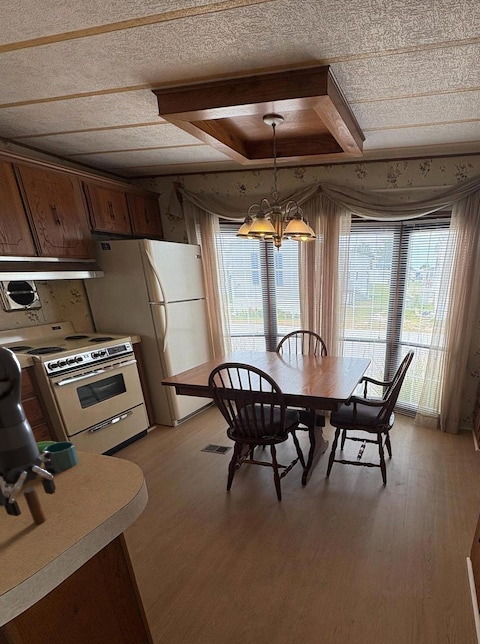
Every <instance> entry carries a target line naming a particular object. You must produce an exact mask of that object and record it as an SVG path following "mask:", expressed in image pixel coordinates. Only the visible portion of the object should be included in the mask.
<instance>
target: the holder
mask: <svg viewBox="0 0 480 644" xmlns="http://www.w3.org/2000/svg"><path fill="white" fill-rule="evenodd" d="M43 451H45V452H52V453H53V454H54V456H55V459H56V462H57V464H58V467H59V470H60V472H61V471H65V470H70V469H72V468H74V467H76V466H77V465H78V464H79V461H80V460H79V456H78V454H77V450H76V446H75V443H74V442H73V441H58V442H56V443H54V444H51V445H48V446H46V447H45V448H44V449H43Z"/></svg>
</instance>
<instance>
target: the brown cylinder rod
mask: <svg viewBox="0 0 480 644" xmlns="http://www.w3.org/2000/svg"><path fill="white" fill-rule="evenodd" d="M22 494H23V497H24V499H25V501H26V505H27V507H28V510H29V513H30V515H31V518H32V520H33V521H32V522H33V524H34V525H41V524H43V523H45V522H46V520H47V518H46V515H45V512H44V510H43V507H42V504H41V501H40V498H39V495H38V493H37V490H36V487H34V486H33V487H28V488H25V489H24V490H23V491H22Z"/></svg>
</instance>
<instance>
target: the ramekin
mask: <svg viewBox="0 0 480 644" xmlns="http://www.w3.org/2000/svg"><path fill="white" fill-rule="evenodd" d="M54 443H57V442H56V441H52V440H48V441H47V440H46V441H45V440H44V441H38V442H36V444H37V447H38V450H39V454H40V453H41V452H42V451H43V449H44V448H45V447H46V446H48V445H51V444H54Z"/></svg>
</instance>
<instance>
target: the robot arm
mask: <svg viewBox="0 0 480 644" xmlns="http://www.w3.org/2000/svg"><path fill="white" fill-rule="evenodd" d="M21 397H22V365H21V363H20V360H19V358H18V357H17V355H16V354H15V353H14V352H13V351H12V350H10V349H8V348H6V347H3V346H0V507H4V510H5V511H6V514H7V515H9V516H14V517H19V516H20V515H22V512H21V508H20V507H19V504H18V501H17V500H16V498H17V495H18V493H21V489H22V487H23V486H25V485H27V484H28V483H29V482H32V481H34V480H36V479H37V478H39V479H41V481H40V482H41V484H42V487H43V490H44V493H45V494H46V495H53V494H55V493H56V489H57V487H56V484H55V481H54V478H55V476H56V475H57V474H60V472H61V471H60V470H59V467H58V464H57V462H56V459H55V456H54V454H53V453H52V452H45V451H40V452H39V450H38V447H37V444H36V443H37V441H36V438H35V436H34V433H33V430H32V427H31V425H30V423H29V421H28V419H27V416H26V413H25V410H24V406H23V404H22V398H21ZM39 453H40V454H39ZM42 463H43V466H44V468H45V470H44V469H42V468H41V466H42ZM12 485H13V487H11V486H12Z"/></svg>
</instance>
